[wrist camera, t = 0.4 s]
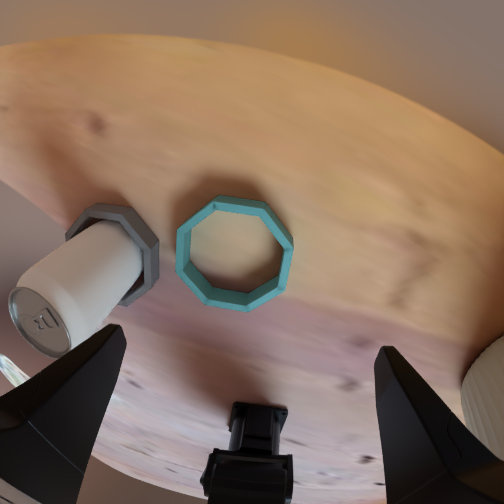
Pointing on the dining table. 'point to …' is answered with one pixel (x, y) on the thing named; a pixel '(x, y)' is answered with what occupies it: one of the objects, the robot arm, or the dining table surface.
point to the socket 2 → (223, 296)
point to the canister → (486, 398)
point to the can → (75, 288)
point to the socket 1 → (137, 232)
